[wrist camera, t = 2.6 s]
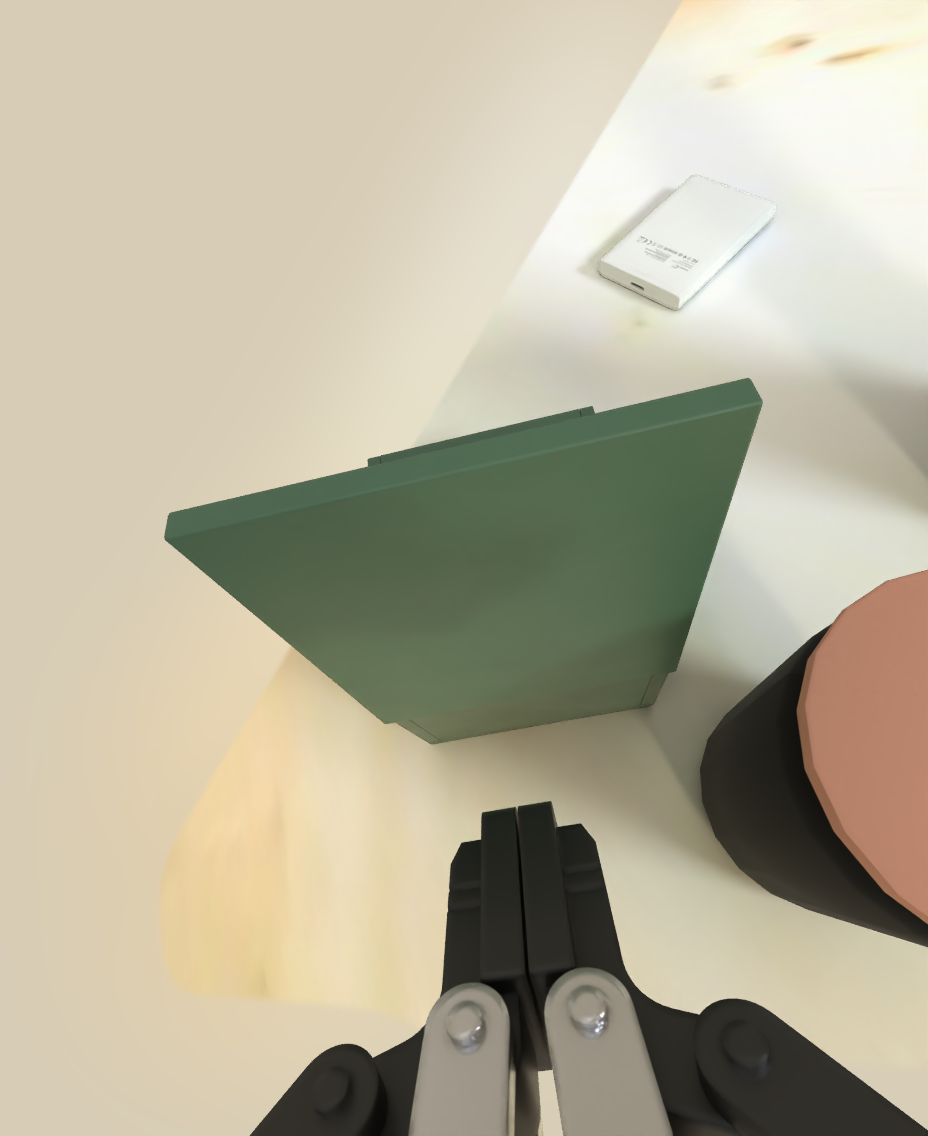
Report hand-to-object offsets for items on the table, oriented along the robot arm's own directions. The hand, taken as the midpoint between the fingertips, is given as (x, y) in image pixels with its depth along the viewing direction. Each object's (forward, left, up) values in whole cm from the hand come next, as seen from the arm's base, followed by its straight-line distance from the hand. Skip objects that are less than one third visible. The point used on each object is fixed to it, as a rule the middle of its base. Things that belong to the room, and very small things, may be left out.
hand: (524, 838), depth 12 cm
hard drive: (-36, -31, -23) cm, 52 cm away
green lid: (-3, -7, -5) cm, 9 cm away
